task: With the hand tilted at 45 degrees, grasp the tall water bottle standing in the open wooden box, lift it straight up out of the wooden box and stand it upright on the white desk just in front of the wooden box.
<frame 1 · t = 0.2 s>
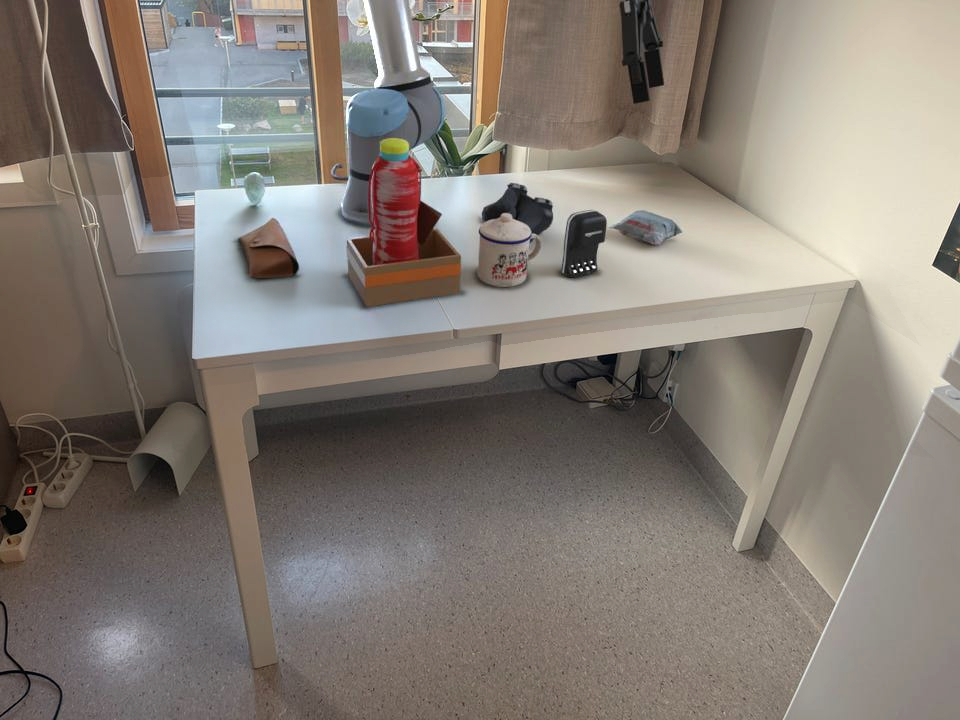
hand: (649, 94, 136), 28 cm above the table, tool tilted 20°, fingers open, 13 cm apart
sunglasses case: (267, 257, 135), on the table
packaged food: (643, 240, 150), on the table
water bottle: (403, 285, 128), resting in wooden box
wooden box: (403, 284, 128), on the table
binoculars: (517, 231, 151), on the table
battery charger: (580, 274, 136), on the table
robot head: (257, 205, 155), on the table
teacup with lid: (508, 276, 133), on the table
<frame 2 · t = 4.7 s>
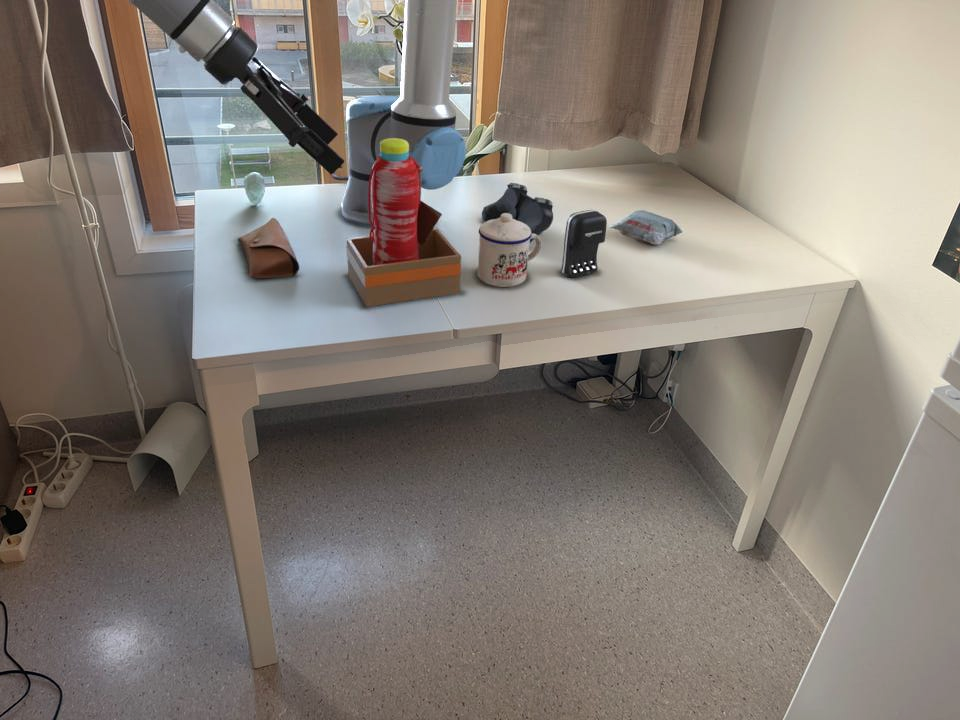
hand: (334, 153, 114), 23 cm above the table, tool tilted 45°, fingers open, 13 cm apart
nothing on the table moved.
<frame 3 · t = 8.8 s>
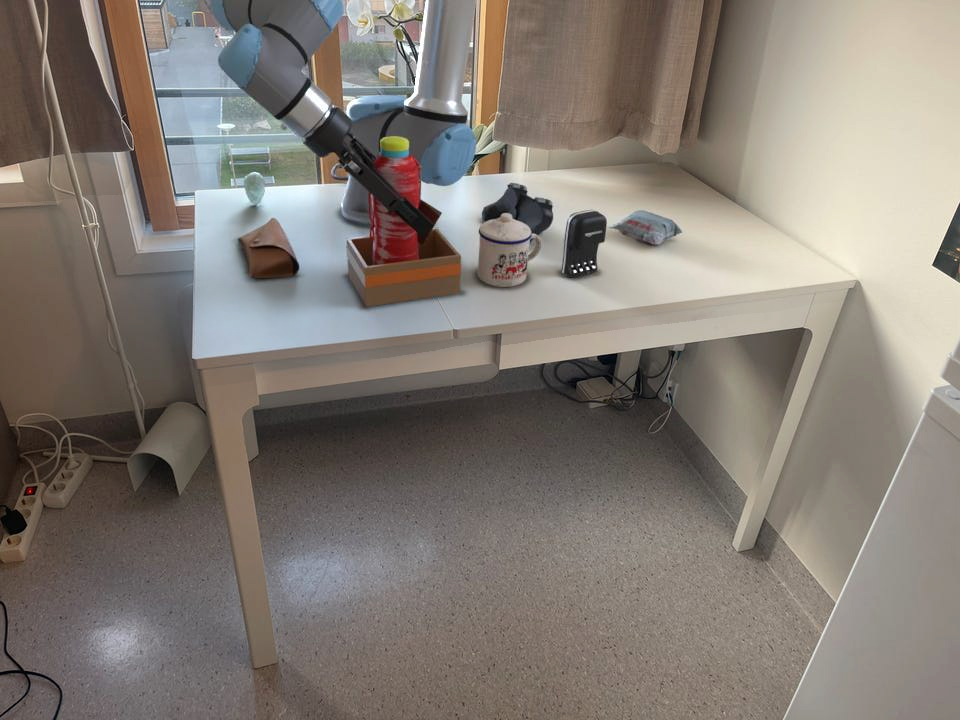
hand: (423, 220, 123), 12 cm above the table, tool tilted 45°, fingers closed on water bottle, 7 cm apart
water bottle: (403, 285, 128), resting in wooden box, touching gripper
everything else where it was.
when the fingers open (12 cm above the table, at t = 18.7 s): water bottle stays where it is, on the table.
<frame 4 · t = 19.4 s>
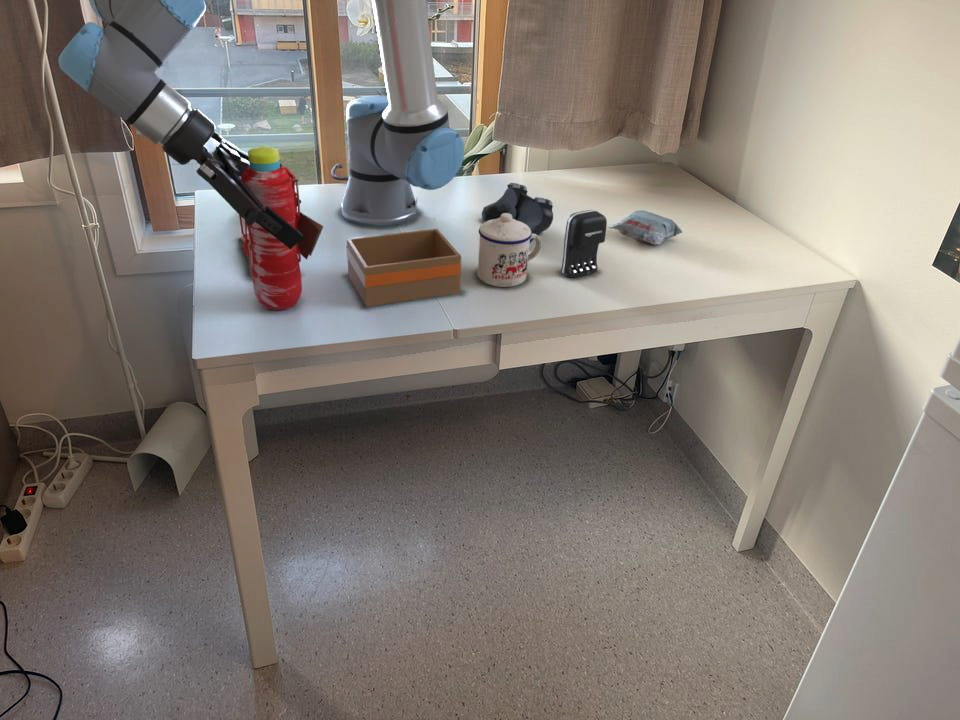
hand: (296, 224, 115), 13 cm above the table, tool tilted 45°, fingers open, 13 cm apart
water bottle: (288, 301, 122), on the table
everything else where it was.
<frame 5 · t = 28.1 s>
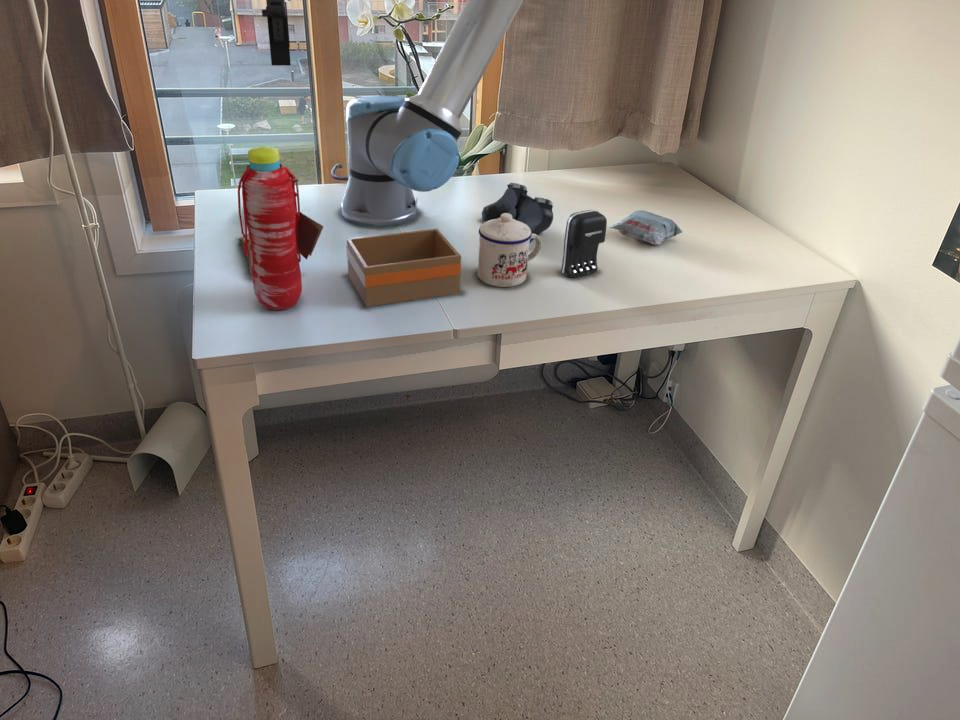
hand: (281, 55, 115), 35 cm above the table, tool pointing down, fingers open, 13 cm apart
nothing on the table moved.
at the end: water bottle inside the target area (0.0 cm from its centre), on the table; water bottle tilted 0°; the gripper is holding nothing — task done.
